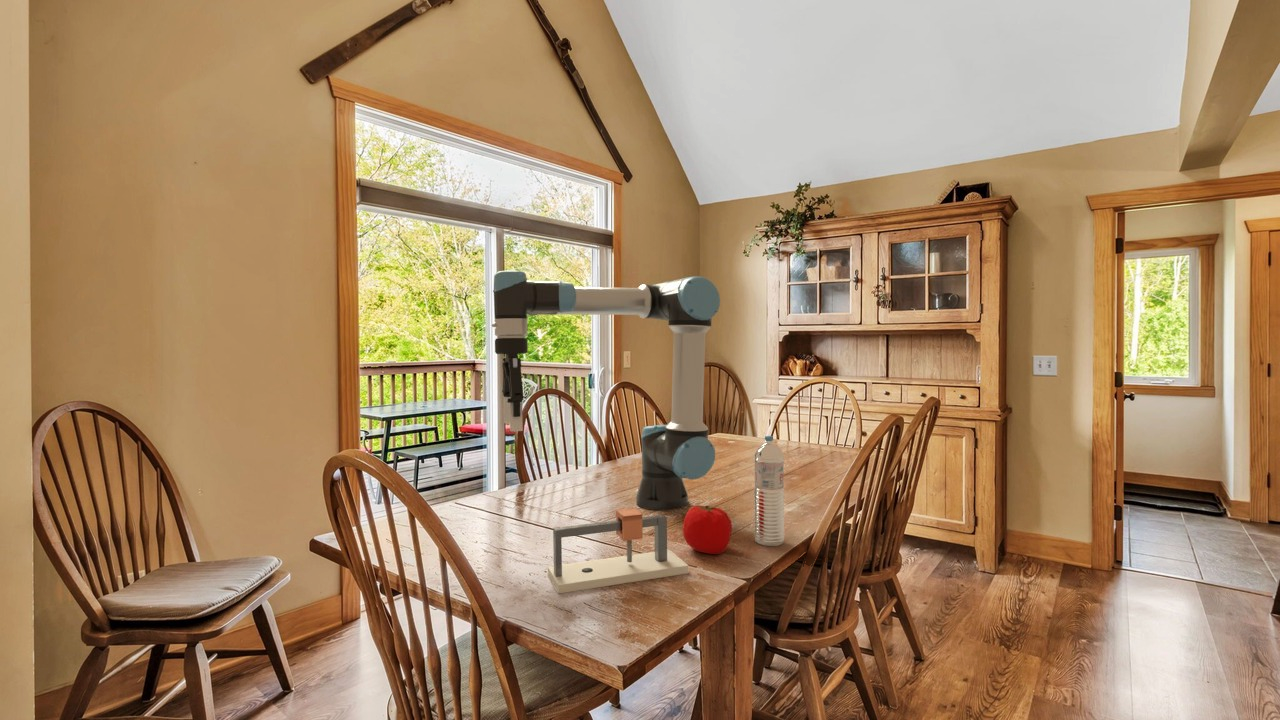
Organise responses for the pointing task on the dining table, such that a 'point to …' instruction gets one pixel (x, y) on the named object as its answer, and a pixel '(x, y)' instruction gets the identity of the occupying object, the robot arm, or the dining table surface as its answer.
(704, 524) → the tomato
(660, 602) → the dining table surface
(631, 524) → the slider sleeve
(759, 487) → the water bottle
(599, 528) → the grey slider rail frame
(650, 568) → the hole board
